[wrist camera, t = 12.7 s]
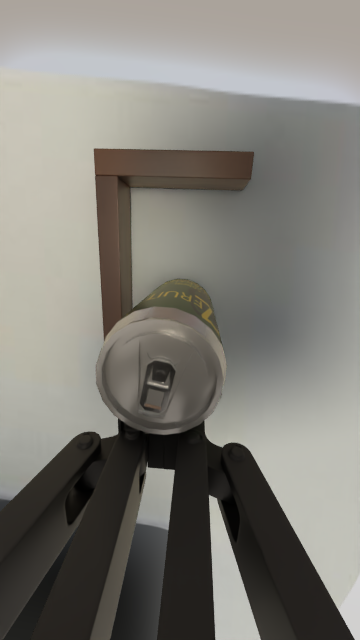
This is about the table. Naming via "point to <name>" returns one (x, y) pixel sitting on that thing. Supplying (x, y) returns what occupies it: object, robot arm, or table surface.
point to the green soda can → (164, 361)
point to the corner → (149, 172)
